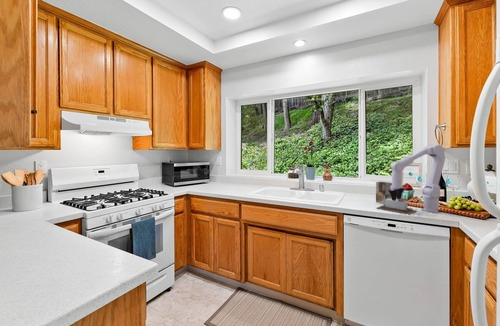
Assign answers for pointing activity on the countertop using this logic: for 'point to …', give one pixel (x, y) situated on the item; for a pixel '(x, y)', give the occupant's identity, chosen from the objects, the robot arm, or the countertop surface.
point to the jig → (397, 210)
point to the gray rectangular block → (396, 204)
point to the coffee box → (382, 191)
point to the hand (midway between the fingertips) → (396, 199)
